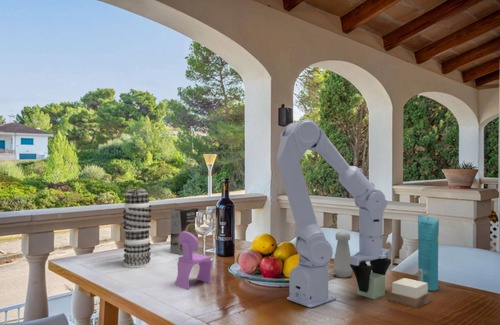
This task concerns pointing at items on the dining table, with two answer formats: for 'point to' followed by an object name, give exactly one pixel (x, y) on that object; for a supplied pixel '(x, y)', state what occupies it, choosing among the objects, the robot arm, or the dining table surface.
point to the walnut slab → (410, 299)
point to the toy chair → (191, 261)
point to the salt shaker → (342, 256)
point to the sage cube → (374, 286)
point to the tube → (428, 251)
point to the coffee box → (182, 226)
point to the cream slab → (410, 288)
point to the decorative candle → (137, 228)
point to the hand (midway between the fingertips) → (370, 288)
